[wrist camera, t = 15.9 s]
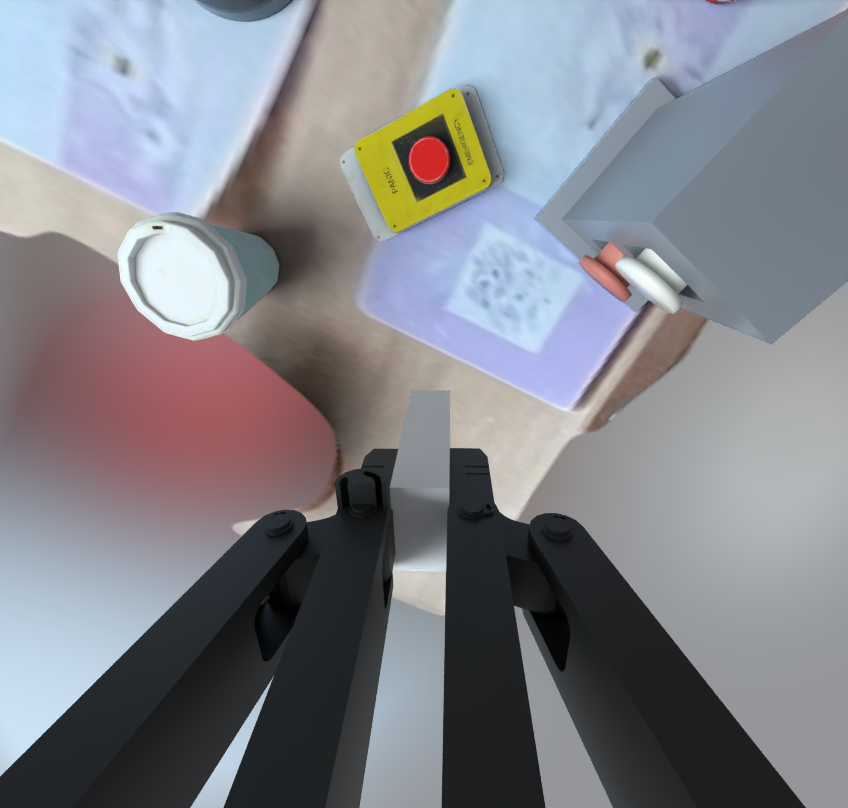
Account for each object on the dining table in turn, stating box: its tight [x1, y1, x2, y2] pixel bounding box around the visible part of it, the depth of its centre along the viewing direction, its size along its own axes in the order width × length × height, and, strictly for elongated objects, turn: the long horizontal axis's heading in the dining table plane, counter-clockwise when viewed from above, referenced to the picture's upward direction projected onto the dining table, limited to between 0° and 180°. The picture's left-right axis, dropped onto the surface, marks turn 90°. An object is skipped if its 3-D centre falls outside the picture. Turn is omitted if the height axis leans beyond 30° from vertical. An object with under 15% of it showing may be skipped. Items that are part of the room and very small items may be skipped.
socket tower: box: [534, 9, 848, 344], centre depth 34 cm, size 15×15×23 cm
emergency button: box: [339, 85, 504, 242], centre depth 42 cm, size 9×4×15 cm
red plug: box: [579, 242, 632, 302], centre depth 38 cm, size 13×6×6 cm, turn 141°
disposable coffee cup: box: [118, 212, 279, 341], centre depth 42 cm, size 11×11×15 cm
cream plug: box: [615, 248, 687, 314], centre depth 30 cm, size 13×6×6 cm, turn 141°
